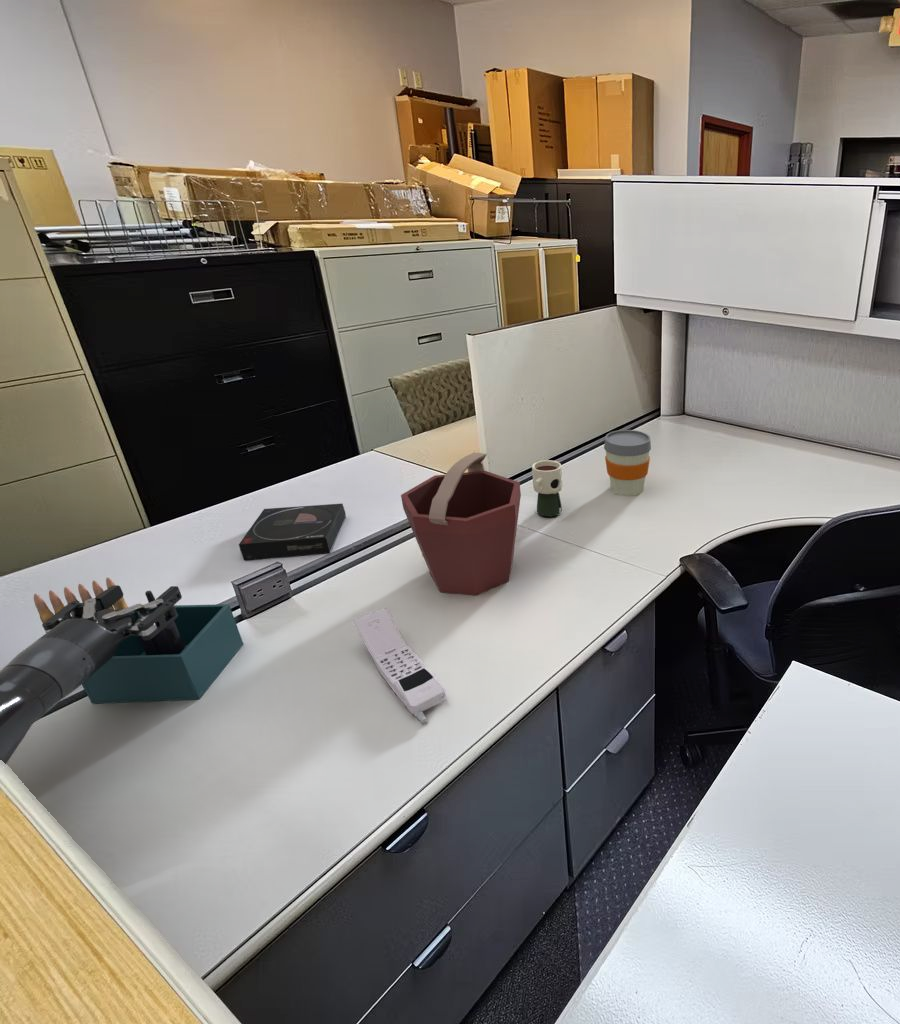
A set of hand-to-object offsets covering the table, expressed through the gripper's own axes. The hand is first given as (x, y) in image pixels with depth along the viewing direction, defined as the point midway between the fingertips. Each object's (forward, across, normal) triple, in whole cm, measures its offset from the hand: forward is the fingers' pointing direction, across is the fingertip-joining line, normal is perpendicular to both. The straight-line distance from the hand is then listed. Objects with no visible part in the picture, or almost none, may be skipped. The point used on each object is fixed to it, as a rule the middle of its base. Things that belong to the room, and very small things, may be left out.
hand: (148, 590), depth 95 cm
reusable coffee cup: (+71, -72, +15) cm, 102 cm away
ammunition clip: (+5, +16, +15) cm, 23 cm away
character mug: (+56, -53, +15) cm, 79 cm away
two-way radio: (-2, 0, +14) cm, 15 cm away
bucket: (+28, -42, +15) cm, 52 cm away
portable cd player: (+42, +1, +15) cm, 45 cm away
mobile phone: (-3, -37, +15) cm, 40 cm away
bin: (-2, 0, +15) cm, 15 cm away
